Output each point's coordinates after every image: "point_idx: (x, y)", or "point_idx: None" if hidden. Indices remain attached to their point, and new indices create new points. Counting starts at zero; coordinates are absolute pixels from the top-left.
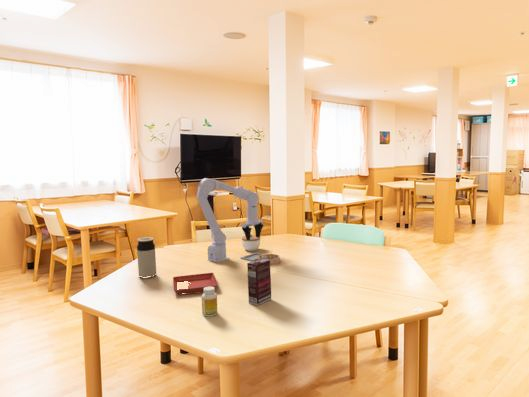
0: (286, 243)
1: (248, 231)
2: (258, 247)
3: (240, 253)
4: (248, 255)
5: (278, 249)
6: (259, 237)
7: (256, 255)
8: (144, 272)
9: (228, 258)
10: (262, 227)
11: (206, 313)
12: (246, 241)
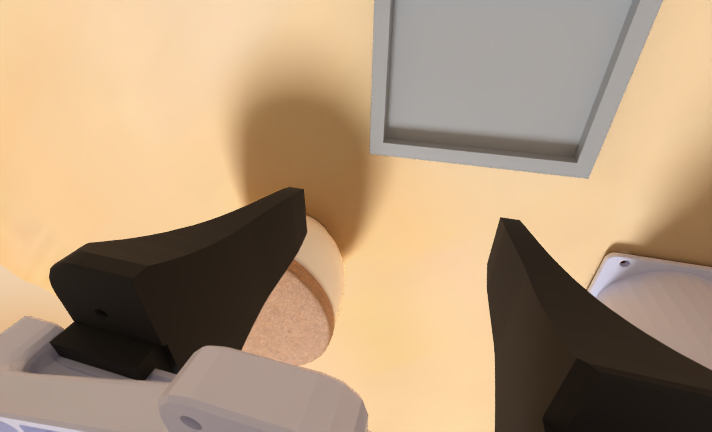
0: (31, 142)
1: (641, 336)
2: None
3: (406, 264)
4: (488, 154)
5: (145, 89)
6: None
7: (406, 116)
8: None
9: (625, 260)
10: (134, 238)
11: None
12: (333, 302)
